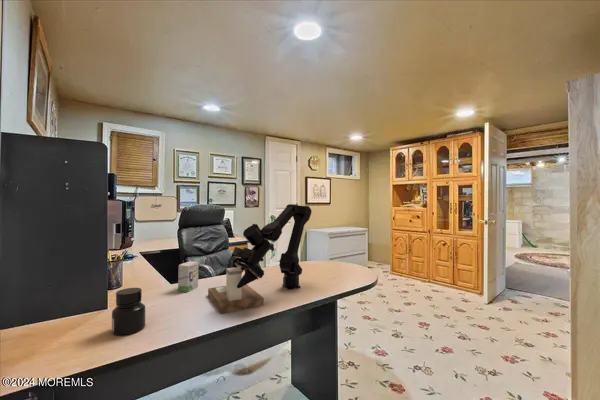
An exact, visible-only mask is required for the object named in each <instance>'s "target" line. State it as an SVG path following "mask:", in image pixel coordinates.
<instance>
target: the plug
mask: <svg viewBox="0 0 600 400" xmlns="http://www.w3.org/2000/svg"><path fill="white" fill-rule="evenodd" d="M225 272H226V273H225V274H226V283H225V286H226V298H227V299H228V301H234V300H239V299H242V287H241V288H237V285H238V283H239V282H240V280H241V279H242V277H243V276H242V274H243V272H242V270H241V269H240V268H238V267H236V268H232V267H229V268H228V267H227V268H226V269H225Z"/></svg>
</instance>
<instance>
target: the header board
mask: <svg viewBox="0 0 600 400" xmlns="http://www.w3.org/2000/svg"><path fill="white" fill-rule="evenodd" d="M207 295H208V297H209V299H210V300H211V301H212V303H213V304H214V305H215V307H216V309H217V310H218V311H219V312H220V315H221V314H222V315H223V314H226V313H231V312H236V311H237V312H238V311H243V310H247V309H248V310H249V309H251V308H252V309H253V308H257V307H263V306H264V297H263V296H262V295H261V294H260V293H258V292H257V291H256V290H255V289H254V288H252V287H251V286H250V285H249V284H246V285H244V286H243V287H242V299H239V300H234V301H228V299H227V298H226V285H222V286H216V287H208V288H207Z"/></svg>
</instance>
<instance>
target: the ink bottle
mask: <svg viewBox="0 0 600 400" xmlns="http://www.w3.org/2000/svg"><path fill="white" fill-rule="evenodd" d="M142 293H143V292H142V288H141V287H128V288H122V289H120V290H117V291H116V292H115V304H116V306H115V308H114V309H113V310H112V312H111V333H112V335H115V336H126V335H127V336H128V335H132V334H135V333H137V332H140V331H141V330H144V328H145V327H146V305H145V304H144V303H142V297H143V296H142Z"/></svg>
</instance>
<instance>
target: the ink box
mask: <svg viewBox="0 0 600 400" xmlns="http://www.w3.org/2000/svg"><path fill="white" fill-rule="evenodd" d="M177 276H178V279H177V281H178V282H177V292H178V293H189V292H191V291H192V290H194V289H196V288H198V287H199V261H186V262H184V263H183V262H182V263H180V264H178V275H177Z"/></svg>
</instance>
